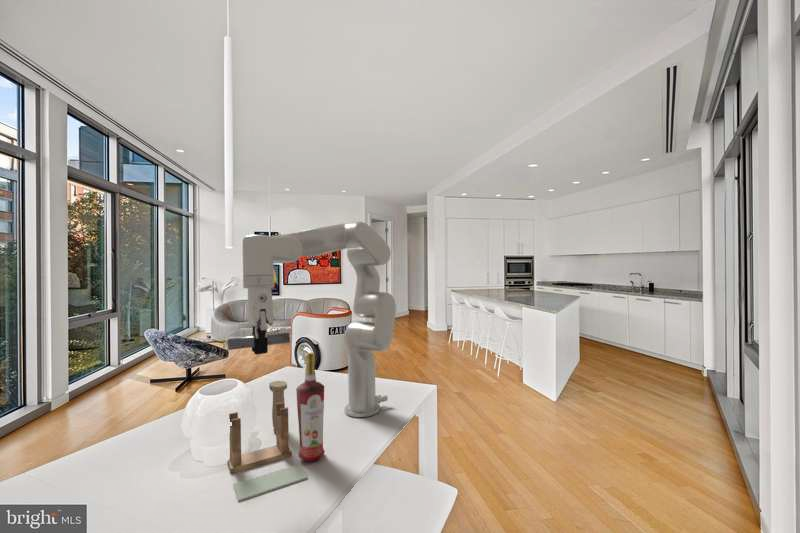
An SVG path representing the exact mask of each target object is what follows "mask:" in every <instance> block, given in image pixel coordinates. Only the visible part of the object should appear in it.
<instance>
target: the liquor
mask: <svg viewBox="0 0 800 533" xmlns="http://www.w3.org/2000/svg"><path fill="white" fill-rule="evenodd" d="M304 362H305V371H304V372H305V374H304V382H302V383H301V384H299V385H298V386H297V387H296V405H297V406H296V407H297V408H296V409H297V421H298V435H299V452H298V454H297V456H298V458H299V459H301V460H302V461H303V462H305V463H314V462H317V461H319V460H320V459H321V458H322V457H323V455H324V454H325V449H324V412H325V411H324V409H325V385H324V384H322V383H321V382H320V381H317V377H316V371H315V370H316V369H315V362H316V352H305V353H304Z"/></svg>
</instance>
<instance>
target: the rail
mask: <svg viewBox="0 0 800 533" xmlns="http://www.w3.org/2000/svg"><path fill="white" fill-rule="evenodd" d="M290 338H291V337H290V333H289V332H280V333H272V334H271V333H270V334H267V340H268V346H273V345H274V346H275V345H283V344H289V343H290V342H291V341H290V340H291V339H290ZM254 339H255V336H252V335H251V336H250V335H249V336H243V337H242V336H241V337H231V338H227V350H228V351H231V350H239V349H248V348H252V347H254Z"/></svg>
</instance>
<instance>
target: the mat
mask: <svg viewBox="0 0 800 533" xmlns="http://www.w3.org/2000/svg"><path fill="white" fill-rule="evenodd" d="M305 480H308V476H307V474H306V473H305V471H304V470H303V468H302V466H301V465H300V464H299V463H297V464H295V465H292V466H287V467H285V468H282V469H278V470H275V471H272V472H269V473H266V474H263V475H258V476H256V477H252V478H248V479H246V480H243V481H239V482H237V483H234V484H233V488H234V493H235V495H236V496H235V497H236V498H237V502H239V503H240V502H242V501H245V500H247V499H251V498H254V497H257V496H259V495H263V494H266V493H269V492H271V491H274V490H279V489H281V488H283V487H287V486H289V485H292V484H293V485H294V484H296V483H299V482H302V481H305Z"/></svg>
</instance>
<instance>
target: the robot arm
mask: <svg viewBox="0 0 800 533" xmlns="http://www.w3.org/2000/svg"><path fill="white" fill-rule="evenodd" d="M346 249H347V250H346ZM342 250H346V255H347V259H348V261H349V263H350V265H351V266H352V268H353V269H354V271H355V274H356V284H355V285H356V286H355V294H354V299H353V312H354V315H355V316H357V317H359V318H364V319H372V320H373V319H374V322H370V321H360V320H358V321H353V322H350V323H349V324H348V325H347V327H346V328H345V331H344V342H345V347H346V352H347V366H348V367H347V370H348V371H347V374H348V375H347V376H348V377H347V379H348V382H347V384H348V404H347V405H346V406H344V414H345V415H347V416H349V417H351V418H352V417H353V418H367V417H371V416H374V415H377V414H378V413H379V412H380V411H381V405H380V404H381V403H383V402H387V401H388V395H381V394H377V395H376V359H375V356H374V353H373V352H384V351H387V350H388V349H389V348H390V346H391V344H392V341H393V337H394V336H393V335H394V328H395V320H396V311H397V303H396V299H395V298H394V296H393V295H392V294H391V293H389V292H387V291H380V286H381V285H380V284H381V278H380V274H379V271H378V270H377V268H376V267H375V266H383V265H386V264H387V263H389V261H390V259H391V254H392V253H391V249H390V246H389V244H388V243H387V241H385V239H384V238H383V237H382V236H381V235H380V234H379V233H378V232H377V231H376V230H375V229H374V228H372V227H371V226H370V225H369V224H367V223H366V222H363V221H354V222H345V223H338V224H332V225H327V226H321V227H316V228H310V229H305V230H302V231H296V232H291V233H286V234H281V235H275V236H270V235H266V234H248V235H245V236H244V237H243V238H242V287H243V289H247V318H248V319H247V320H248V324H250V325H251V336H255V339H254V347H251V351H252V352H253V354H254V355H261V354H263V355H264V354H267V353H269V350H268V348H269V347H268V346H269V345H268V340H267V335H268V325H269V326H273V325H274V323H275V322H274V320H275V319H274V307H273V306H274V304H273V292H272V288H275V287H274V286H275V282H274V280H275V279H274V278H275V275H274V274H275V273H274V272H275V271H274V264H289V263H294V262H297V261H298V260H299V259H301V257H315V256H316V257H317V256H323V255H326V254H331V253H335V252H338V251H342Z"/></svg>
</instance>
